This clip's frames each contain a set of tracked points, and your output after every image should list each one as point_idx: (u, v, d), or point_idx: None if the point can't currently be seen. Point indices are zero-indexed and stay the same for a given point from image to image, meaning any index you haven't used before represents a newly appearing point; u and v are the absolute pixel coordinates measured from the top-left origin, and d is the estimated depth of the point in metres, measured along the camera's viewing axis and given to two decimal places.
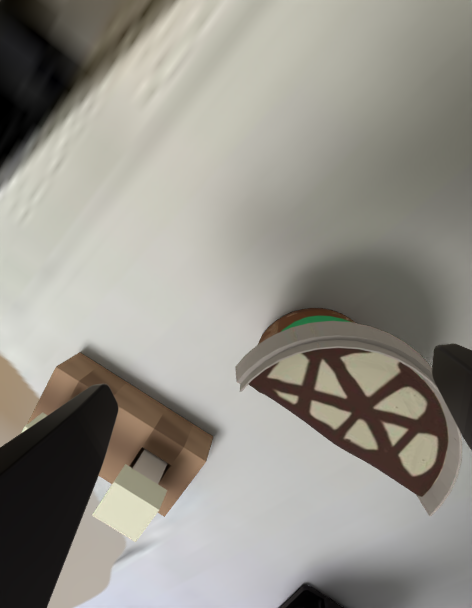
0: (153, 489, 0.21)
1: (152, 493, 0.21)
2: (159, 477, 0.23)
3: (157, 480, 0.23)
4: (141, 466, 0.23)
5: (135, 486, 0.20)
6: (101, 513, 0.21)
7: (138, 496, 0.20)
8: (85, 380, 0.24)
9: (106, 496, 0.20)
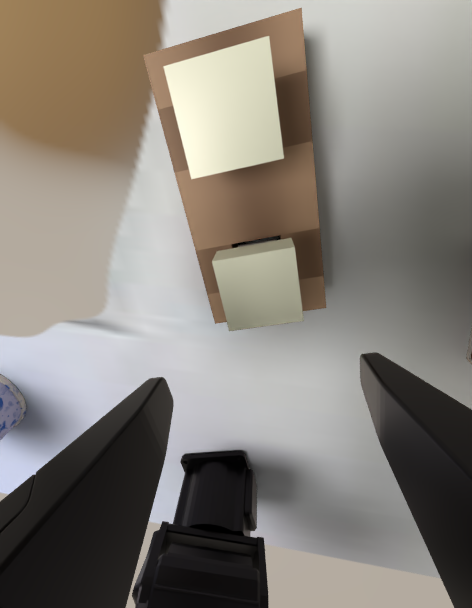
0: None
1: None
2: None
3: None
4: None
5: None
6: (228, 269, 0.13)
7: (299, 288, 0.13)
8: (306, 80, 0.14)
9: (261, 255, 0.13)
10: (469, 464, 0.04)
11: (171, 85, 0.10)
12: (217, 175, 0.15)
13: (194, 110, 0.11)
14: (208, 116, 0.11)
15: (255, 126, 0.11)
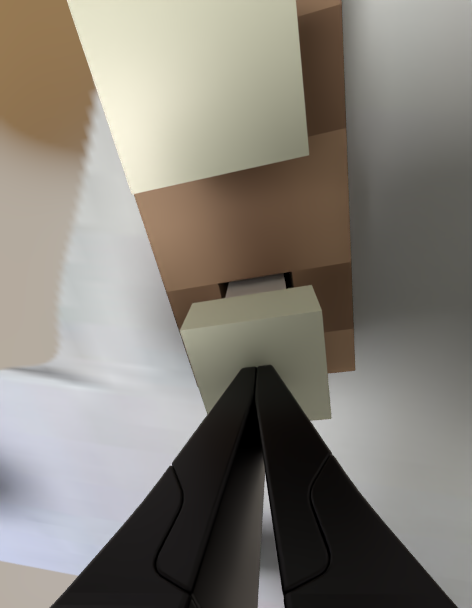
0: None
1: None
2: None
3: None
4: None
5: None
6: (207, 342, 0.08)
7: (326, 372, 0.08)
8: (338, 24, 0.08)
9: (263, 323, 0.07)
10: (274, 475, 0.04)
11: None
12: (195, 182, 0.10)
13: (126, 54, 0.05)
14: (156, 67, 0.05)
15: (252, 89, 0.05)
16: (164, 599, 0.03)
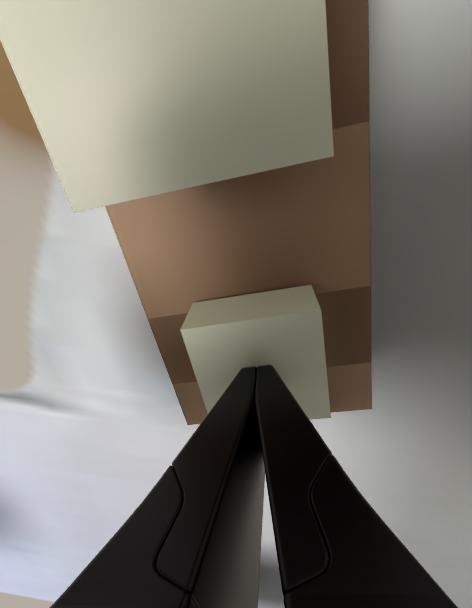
0: None
1: None
2: None
3: None
4: None
5: None
6: (207, 342, 0.08)
7: (326, 371, 0.08)
8: None
9: (263, 322, 0.07)
10: (274, 475, 0.04)
11: None
12: None
13: None
14: (95, 16, 0.03)
15: (247, 52, 0.03)
16: (164, 599, 0.03)
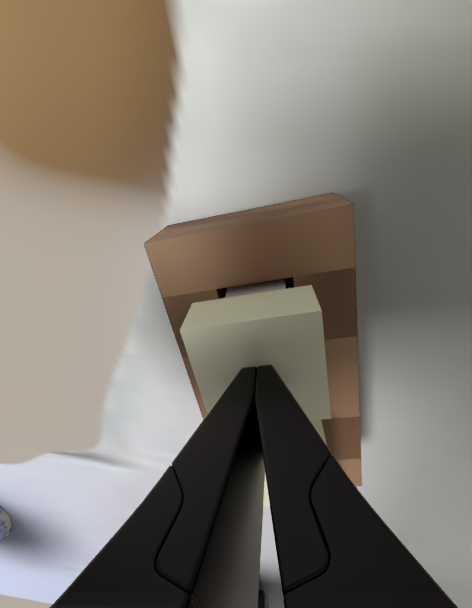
0: None
1: None
2: None
3: None
4: None
5: None
6: None
7: None
8: (352, 271, 0.11)
9: None
10: (274, 475, 0.04)
11: (189, 347, 0.08)
12: None
13: (218, 370, 0.08)
14: None
15: (296, 389, 0.08)
16: (164, 599, 0.03)
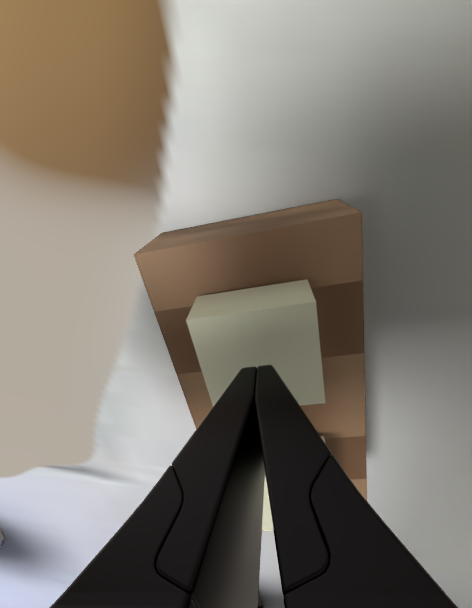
0: None
1: None
2: None
3: None
4: None
5: None
6: None
7: None
8: (359, 284, 0.10)
9: None
10: (274, 475, 0.04)
11: (194, 336, 0.09)
12: None
13: (221, 358, 0.09)
14: (238, 364, 0.09)
15: (293, 375, 0.09)
16: (164, 599, 0.03)
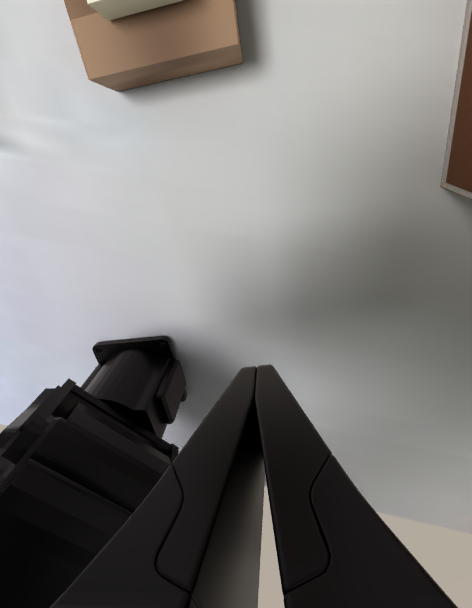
0: None
1: None
2: None
3: None
4: None
5: None
6: None
7: None
8: None
9: None
10: (274, 475, 0.04)
11: None
12: None
13: None
14: None
15: None
16: (164, 599, 0.03)
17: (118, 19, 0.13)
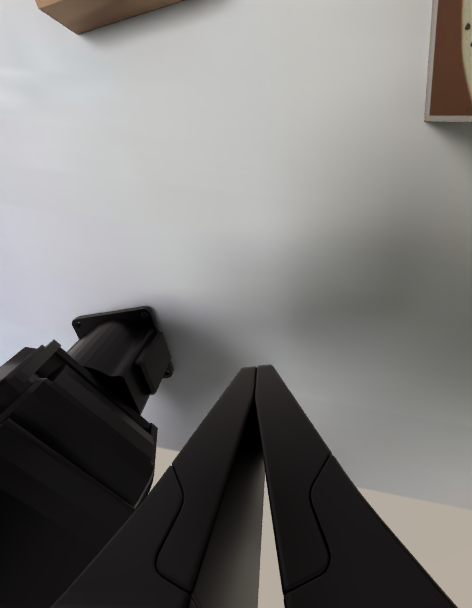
0: None
1: None
2: None
3: None
4: None
5: None
6: None
7: None
8: None
9: None
10: (274, 475, 0.04)
11: None
12: None
13: None
14: None
15: None
16: (164, 599, 0.03)
17: None
